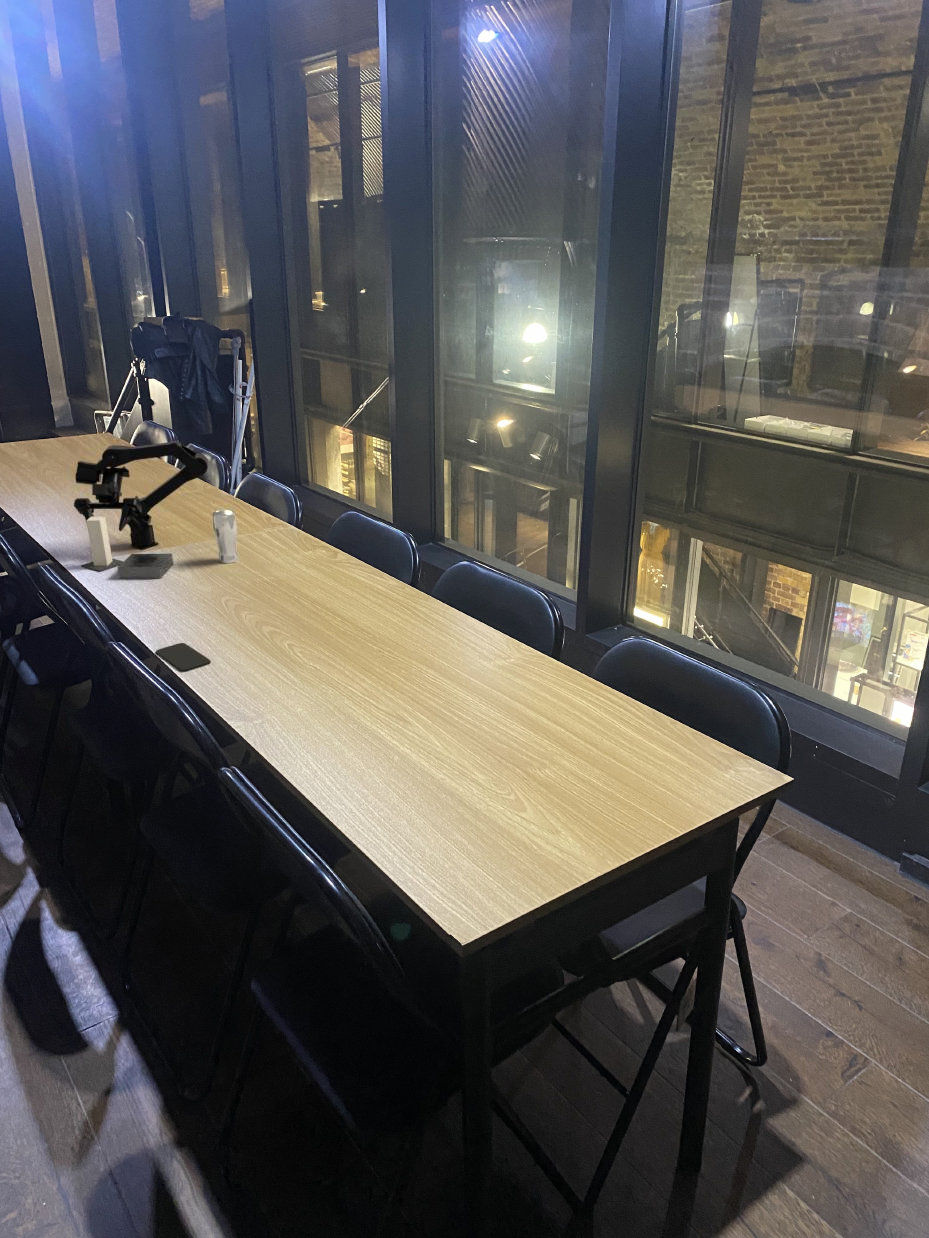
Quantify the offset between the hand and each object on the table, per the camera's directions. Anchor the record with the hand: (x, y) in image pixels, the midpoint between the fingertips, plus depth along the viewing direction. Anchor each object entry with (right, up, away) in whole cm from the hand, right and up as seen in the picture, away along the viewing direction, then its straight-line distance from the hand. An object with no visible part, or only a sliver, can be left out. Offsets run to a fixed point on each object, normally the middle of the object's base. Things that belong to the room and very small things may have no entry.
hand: (104, 530), depth 264 cm
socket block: (+15, -13, -6) cm, 20 cm away
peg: (0, -10, -1) cm, 10 cm away
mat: (0, -10, 0) cm, 10 cm away
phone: (+43, -36, -61) cm, 83 cm away
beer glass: (+37, -9, +3) cm, 38 cm away
